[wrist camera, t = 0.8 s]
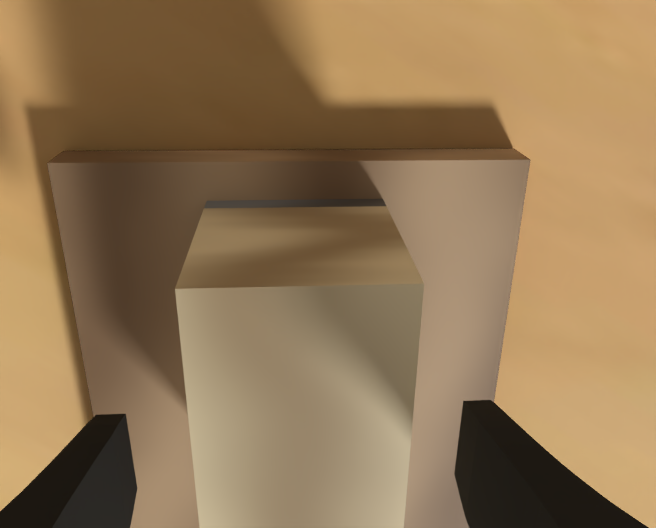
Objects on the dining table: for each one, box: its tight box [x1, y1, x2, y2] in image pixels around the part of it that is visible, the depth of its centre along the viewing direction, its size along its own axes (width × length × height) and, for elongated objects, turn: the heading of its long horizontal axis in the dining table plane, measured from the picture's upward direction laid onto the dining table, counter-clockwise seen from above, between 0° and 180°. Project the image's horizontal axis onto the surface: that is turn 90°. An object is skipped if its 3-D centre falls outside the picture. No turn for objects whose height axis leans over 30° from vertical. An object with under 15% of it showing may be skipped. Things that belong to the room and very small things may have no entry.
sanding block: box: [175, 199, 424, 528], centre depth 15 cm, size 4×8×5 cm, turn 179°
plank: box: [47, 149, 530, 528], centre depth 20 cm, size 12×22×1 cm, turn 179°
